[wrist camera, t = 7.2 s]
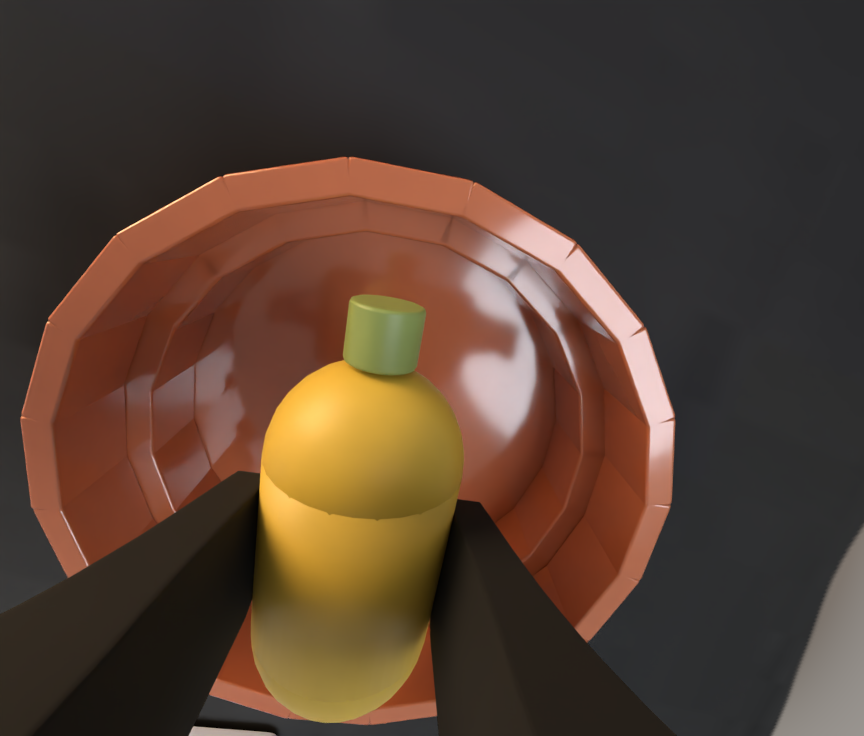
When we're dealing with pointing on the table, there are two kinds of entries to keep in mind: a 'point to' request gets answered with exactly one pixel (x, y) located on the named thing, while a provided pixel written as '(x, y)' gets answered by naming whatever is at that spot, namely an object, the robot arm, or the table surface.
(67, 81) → the table surface
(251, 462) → the basin
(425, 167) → the table surface
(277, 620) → the yellow squeeze bottle
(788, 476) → the table surface
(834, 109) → the table surface
